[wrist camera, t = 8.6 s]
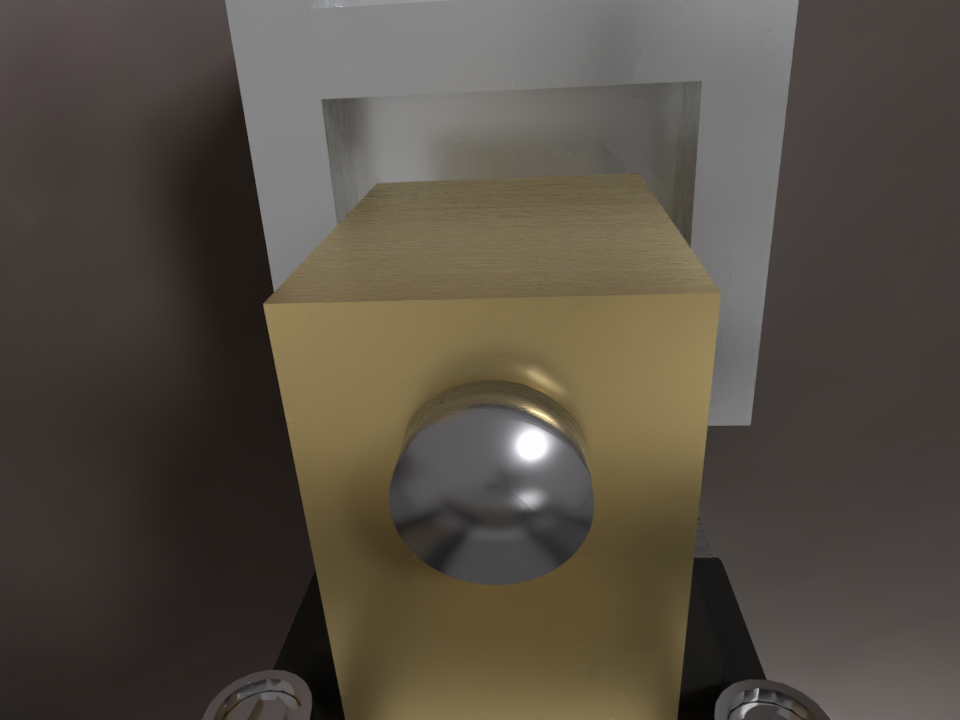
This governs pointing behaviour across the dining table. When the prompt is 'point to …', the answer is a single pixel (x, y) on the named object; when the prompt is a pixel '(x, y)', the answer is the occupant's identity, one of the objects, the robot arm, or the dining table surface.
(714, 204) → the grey compartment tray
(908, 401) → the dining table surface
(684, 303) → the link
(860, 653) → the dining table surface
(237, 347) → the dining table surface
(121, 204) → the dining table surface
